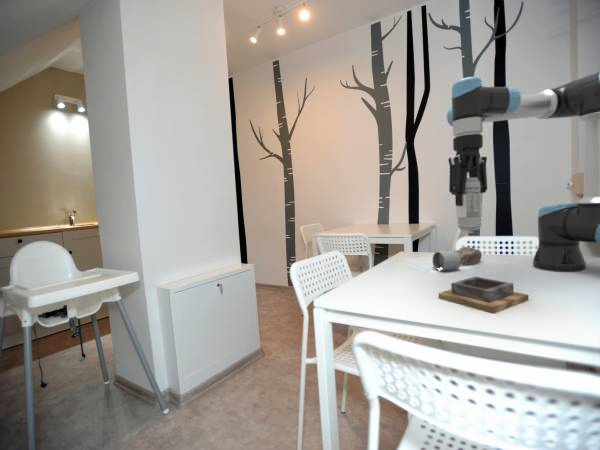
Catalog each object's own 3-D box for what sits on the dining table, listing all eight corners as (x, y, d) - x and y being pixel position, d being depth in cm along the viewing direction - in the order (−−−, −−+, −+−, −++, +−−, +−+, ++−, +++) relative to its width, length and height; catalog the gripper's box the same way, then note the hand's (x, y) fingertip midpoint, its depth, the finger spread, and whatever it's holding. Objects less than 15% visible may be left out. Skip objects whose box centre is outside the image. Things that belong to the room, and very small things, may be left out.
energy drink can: (482, 228, 96) (481, 177, 94) (480, 230, 91) (479, 176, 89) (459, 228, 99) (458, 179, 98) (456, 230, 94) (455, 178, 93)
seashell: (462, 252, 146) (471, 234, 140) (481, 265, 140) (491, 247, 134) (442, 263, 139) (450, 245, 133) (461, 277, 133) (470, 259, 127)
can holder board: (473, 287, 102) (472, 273, 102) (528, 300, 88) (528, 283, 88) (438, 298, 95) (438, 283, 94) (493, 313, 81) (492, 295, 80)
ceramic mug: (463, 270, 124) (462, 250, 124) (444, 273, 122) (443, 253, 122) (445, 266, 134) (444, 247, 134) (427, 268, 133) (426, 249, 132)
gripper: (476, 139, 100) (478, 213, 102) (433, 137, 92) (435, 218, 94) (501, 134, 93) (502, 213, 95) (456, 131, 85) (458, 219, 87)
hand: (469, 216), depth 94 cm, fingers closed on energy drink can, 6 cm apart
